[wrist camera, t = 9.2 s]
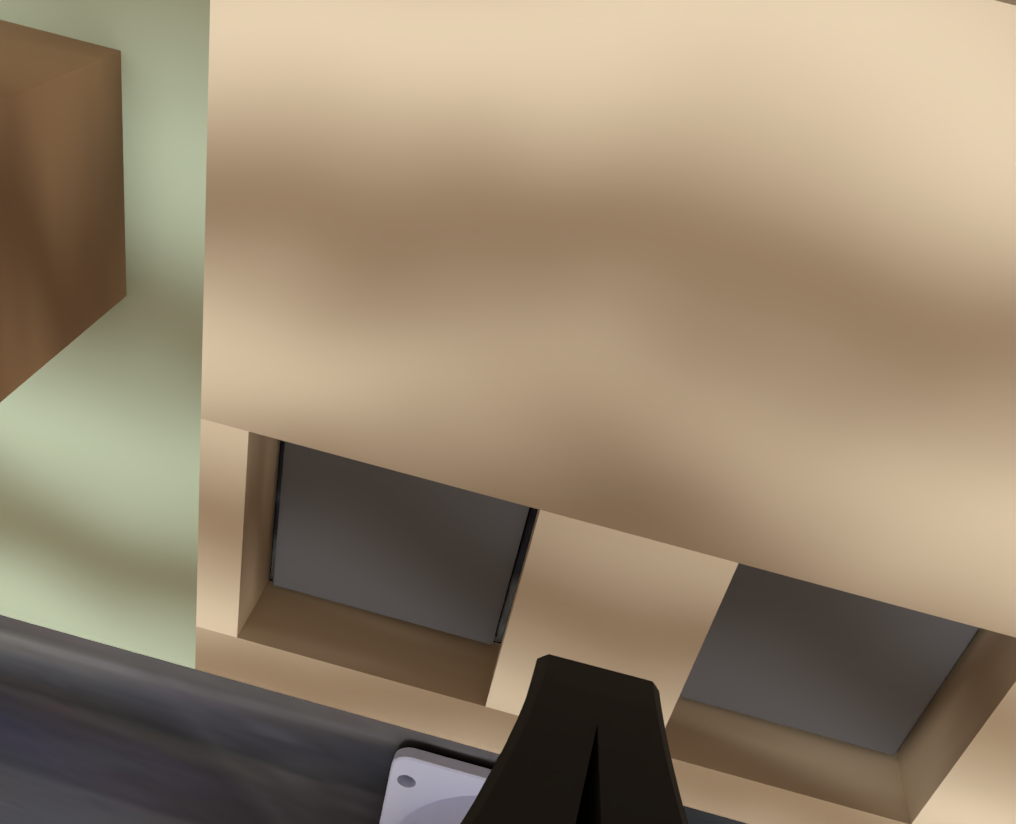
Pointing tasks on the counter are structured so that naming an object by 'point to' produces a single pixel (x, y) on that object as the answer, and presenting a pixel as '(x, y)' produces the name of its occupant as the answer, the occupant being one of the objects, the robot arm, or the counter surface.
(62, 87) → the block
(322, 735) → the counter surface
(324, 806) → the counter surface
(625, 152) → the board
